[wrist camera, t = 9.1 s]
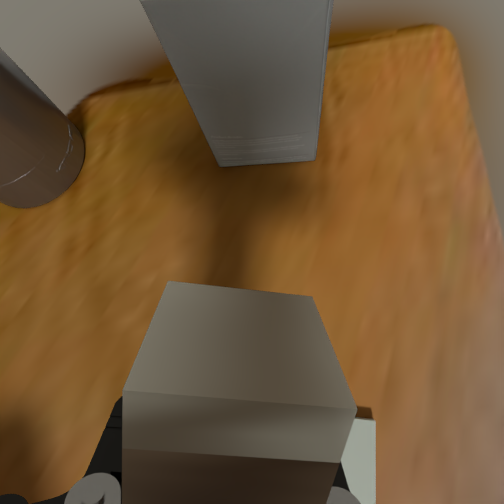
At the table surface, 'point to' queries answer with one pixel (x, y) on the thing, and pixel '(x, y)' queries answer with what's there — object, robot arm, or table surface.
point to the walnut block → (234, 401)
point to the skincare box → (249, 72)
